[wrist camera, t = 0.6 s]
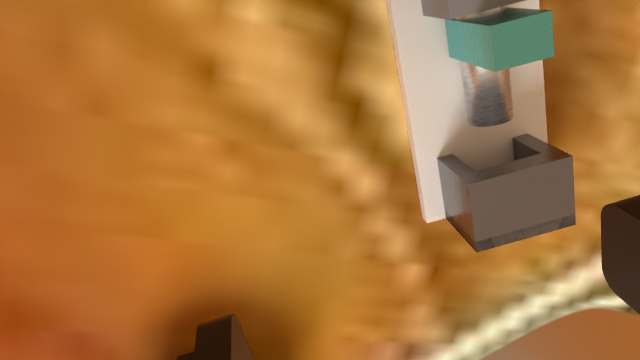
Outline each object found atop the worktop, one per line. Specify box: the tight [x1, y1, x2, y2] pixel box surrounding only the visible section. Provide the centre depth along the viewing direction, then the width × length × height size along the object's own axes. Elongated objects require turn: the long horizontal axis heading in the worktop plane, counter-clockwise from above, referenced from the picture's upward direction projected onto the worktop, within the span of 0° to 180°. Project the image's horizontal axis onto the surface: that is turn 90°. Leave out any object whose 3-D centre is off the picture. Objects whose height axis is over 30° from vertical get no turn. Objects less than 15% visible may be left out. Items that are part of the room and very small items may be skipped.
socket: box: [437, 133, 576, 252], centre depth 36 cm, size 5×7×6 cm
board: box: [386, 0, 548, 223], centre depth 34 cm, size 22×10×6 cm, turn 13°
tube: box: [445, 6, 554, 127], centre depth 31 cm, size 14×4×7 cm, turn 13°
